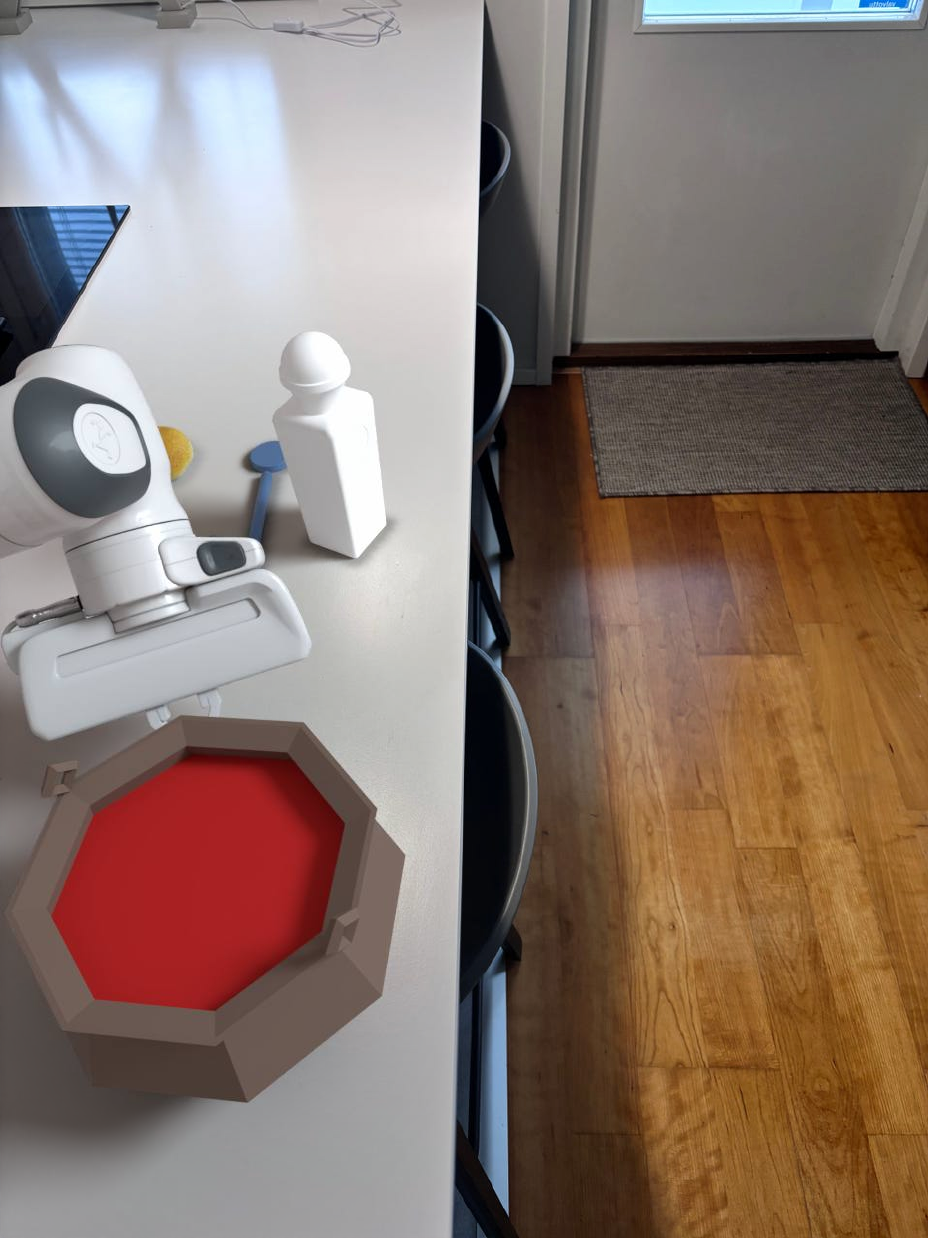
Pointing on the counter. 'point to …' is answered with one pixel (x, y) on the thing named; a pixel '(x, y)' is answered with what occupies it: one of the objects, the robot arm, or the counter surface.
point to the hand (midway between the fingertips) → (201, 757)
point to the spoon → (264, 481)
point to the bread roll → (176, 450)
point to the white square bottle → (330, 446)
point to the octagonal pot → (207, 906)
